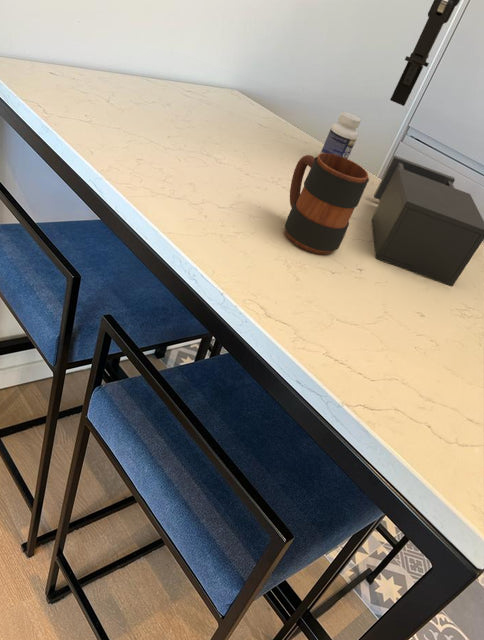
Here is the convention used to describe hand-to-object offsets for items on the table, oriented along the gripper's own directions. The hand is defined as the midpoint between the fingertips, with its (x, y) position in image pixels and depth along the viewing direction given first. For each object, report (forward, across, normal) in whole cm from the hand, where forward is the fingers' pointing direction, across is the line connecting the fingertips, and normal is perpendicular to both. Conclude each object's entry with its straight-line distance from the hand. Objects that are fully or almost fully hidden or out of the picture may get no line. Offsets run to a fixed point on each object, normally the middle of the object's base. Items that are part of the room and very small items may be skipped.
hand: (397, 102), depth 102 cm
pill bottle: (+16, -2, -7) cm, 17 cm away
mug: (+16, +34, -3) cm, 37 cm away
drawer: (+15, +10, +10) cm, 20 cm away
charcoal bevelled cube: (+15, +22, +13) cm, 30 cm away
